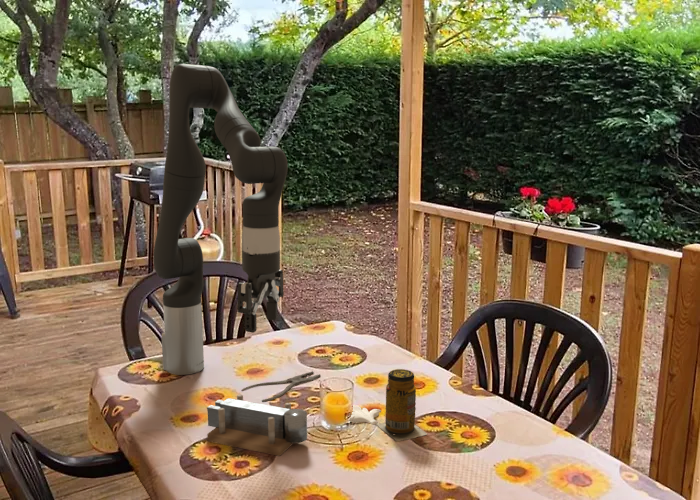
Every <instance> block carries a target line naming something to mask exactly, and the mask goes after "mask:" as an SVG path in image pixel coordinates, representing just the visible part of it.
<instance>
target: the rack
mask: <svg viewBox="0 0 700 500" xmlns="http://www.w3.org/2000/svg"><path fill="white" fill-rule="evenodd" d="M236 400H242V401H244V395H243V394H238V395H236ZM284 408H286V409H290V410H291V409H292V404H291V403H290V402H286V403H284ZM218 413H219V428H216V427H214V428H213V429H212V430H211V431H209V432H208V433H207V435H206V436H207V437H206V438H207V441H208V442H211V443H216V444H219V445H225V446H228V447H229V446H230V447H234V448H235V447H236V448H239V449H244V450H249V451H252V452H253V451H255V452H259V453H265V454H270V455H272V456H278V457H280V456H282V455H283V454H284V453H285V452H286V451H287V450H288V449H289V448H290V447H291V446H292V445H293V444H294V443H290V442H287V441H286V440H285V439H279V438H275V422H274V417H269V418H268V436H264V435H259V434H253V433H248V432H243V431H238V430H233V429H228V428H225V409H224V408H219V409H218Z"/></svg>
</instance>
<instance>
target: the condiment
mask: <svg viewBox="0 0 700 500" xmlns="http://www.w3.org/2000/svg"><path fill="white" fill-rule="evenodd" d="M416 393H417V388H416V385H415V374H414V372H412V371H411V370H408V369H405V368H404V369H403V368H397V369H393V370H390V371H389V372H388V374H387V384H386V387H385V419H384V420H385V422H380V423H378V424H376V426H377V427H379V428H380V429H381V430H382V431H384V432H385V433H386V434H388V436H389V437H391V438H392V439H394V441H396V442H399V441H406V440H411V439H416V438H417V437H423V436H426V435H428V433H427V432H426V431H424V430H423V429H421V427H419V426H418V425H416V409H417V407H416V400H417V399H416V397H417V394H416Z"/></svg>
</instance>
